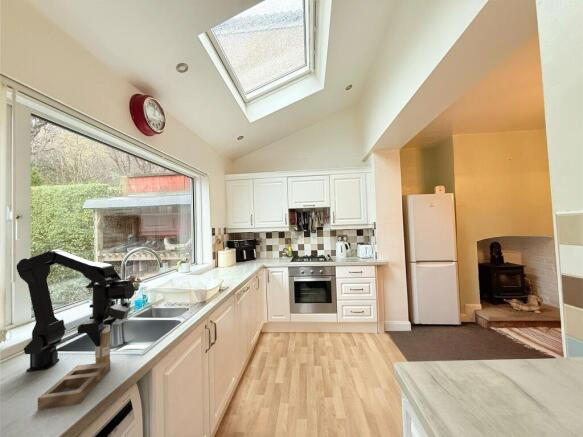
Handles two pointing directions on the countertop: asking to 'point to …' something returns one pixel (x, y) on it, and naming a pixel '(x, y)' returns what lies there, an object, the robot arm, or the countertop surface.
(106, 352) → the sprinkles bottle
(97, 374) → the socket block
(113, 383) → the countertop surface
